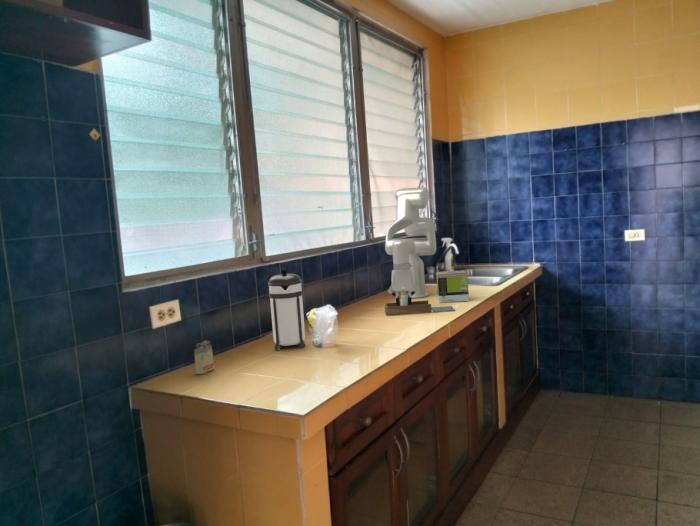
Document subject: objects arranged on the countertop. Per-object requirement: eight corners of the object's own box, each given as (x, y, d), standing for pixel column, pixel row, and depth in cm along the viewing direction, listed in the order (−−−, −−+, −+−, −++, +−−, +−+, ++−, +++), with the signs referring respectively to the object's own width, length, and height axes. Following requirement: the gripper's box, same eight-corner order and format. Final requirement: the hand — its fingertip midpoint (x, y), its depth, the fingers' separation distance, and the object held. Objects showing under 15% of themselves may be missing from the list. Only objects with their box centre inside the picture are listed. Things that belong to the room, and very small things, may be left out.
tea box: (466, 298, 284) (465, 269, 283) (469, 301, 274) (467, 272, 273) (437, 299, 286) (435, 271, 284) (438, 303, 276) (437, 273, 274)
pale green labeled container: (202, 375, 179) (199, 345, 178) (193, 374, 181) (190, 344, 180) (216, 368, 185) (213, 339, 184) (207, 367, 187) (205, 339, 186)
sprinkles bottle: (398, 311, 260) (396, 283, 259) (408, 311, 261) (406, 282, 259) (400, 313, 256) (398, 285, 255) (410, 312, 256) (408, 284, 255)
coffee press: (319, 343, 211) (313, 265, 208) (287, 353, 199) (281, 270, 196) (290, 338, 223) (284, 264, 219) (258, 347, 211) (251, 269, 208)
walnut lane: (384, 311, 263) (384, 303, 263) (428, 308, 263) (427, 300, 263) (386, 315, 253) (385, 307, 253) (431, 312, 253) (431, 304, 253)
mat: (430, 308, 263) (430, 307, 263) (451, 307, 263) (451, 306, 263) (433, 312, 253) (433, 311, 253) (455, 311, 253) (455, 310, 253)
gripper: (418, 264, 260) (420, 303, 262) (383, 267, 260) (385, 305, 262) (420, 266, 252) (422, 305, 254) (384, 269, 252) (386, 308, 254)
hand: (403, 305), depth 258 cm, fingers closed on sprinkles bottle, 4 cm apart
